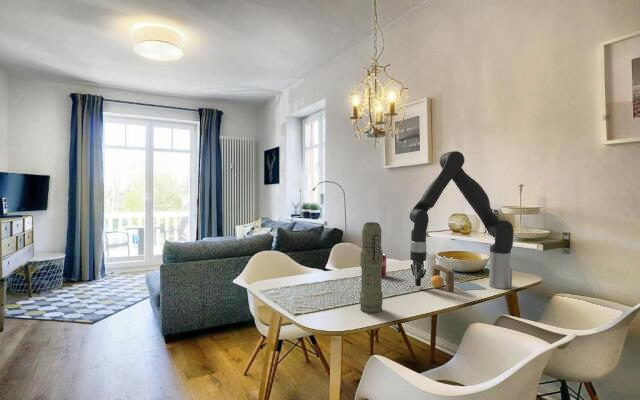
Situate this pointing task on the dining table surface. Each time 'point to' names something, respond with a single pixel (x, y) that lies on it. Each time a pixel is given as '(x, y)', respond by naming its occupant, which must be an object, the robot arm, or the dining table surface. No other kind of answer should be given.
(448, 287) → the bridge
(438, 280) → the ball
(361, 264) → the thermos
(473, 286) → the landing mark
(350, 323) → the dining table surface
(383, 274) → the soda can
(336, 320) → the dining table surface
